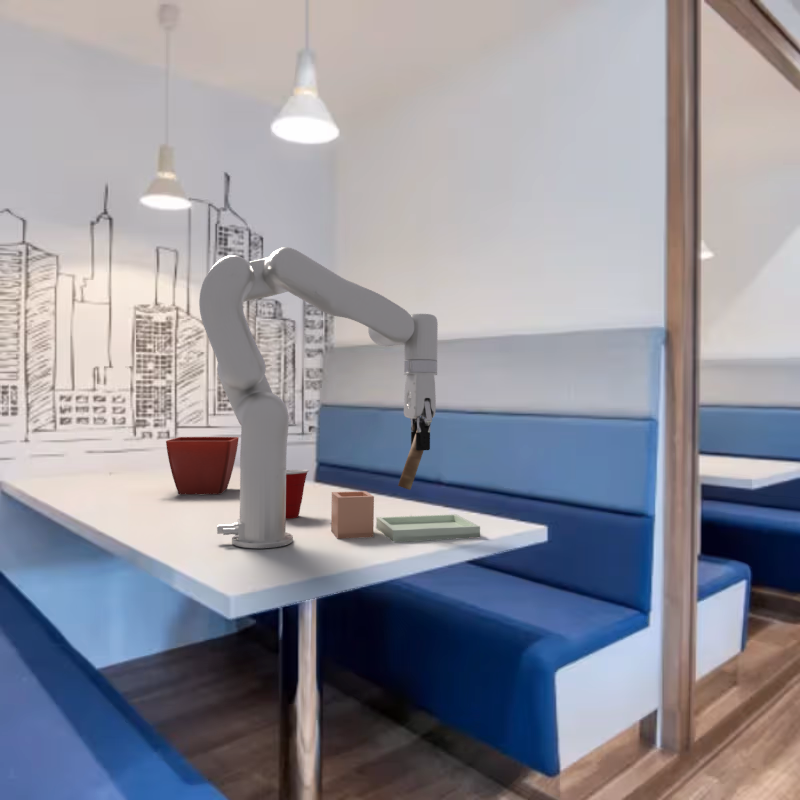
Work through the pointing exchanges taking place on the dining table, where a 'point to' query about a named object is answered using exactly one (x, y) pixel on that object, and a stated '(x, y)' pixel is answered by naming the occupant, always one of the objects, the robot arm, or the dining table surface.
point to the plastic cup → (294, 491)
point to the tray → (426, 527)
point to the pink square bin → (352, 514)
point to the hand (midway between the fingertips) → (420, 448)
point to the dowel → (410, 466)
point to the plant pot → (202, 463)
